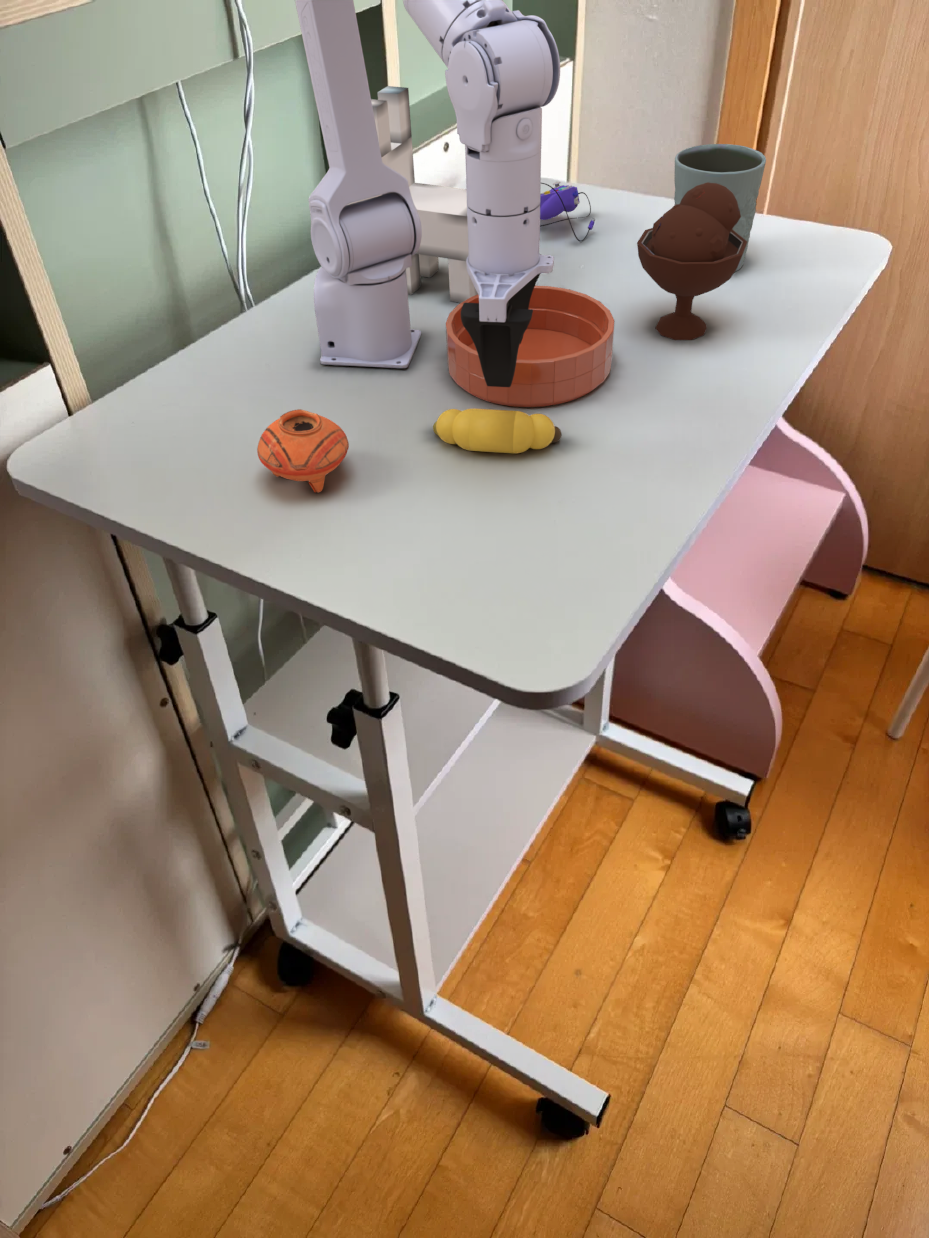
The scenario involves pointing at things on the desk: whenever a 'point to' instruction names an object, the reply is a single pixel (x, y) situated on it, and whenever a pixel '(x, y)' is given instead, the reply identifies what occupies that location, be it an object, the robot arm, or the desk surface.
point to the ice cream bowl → (692, 253)
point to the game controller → (560, 203)
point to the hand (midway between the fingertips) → (504, 362)
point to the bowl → (541, 351)
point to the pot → (302, 447)
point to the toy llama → (425, 200)
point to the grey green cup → (723, 177)
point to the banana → (496, 430)
